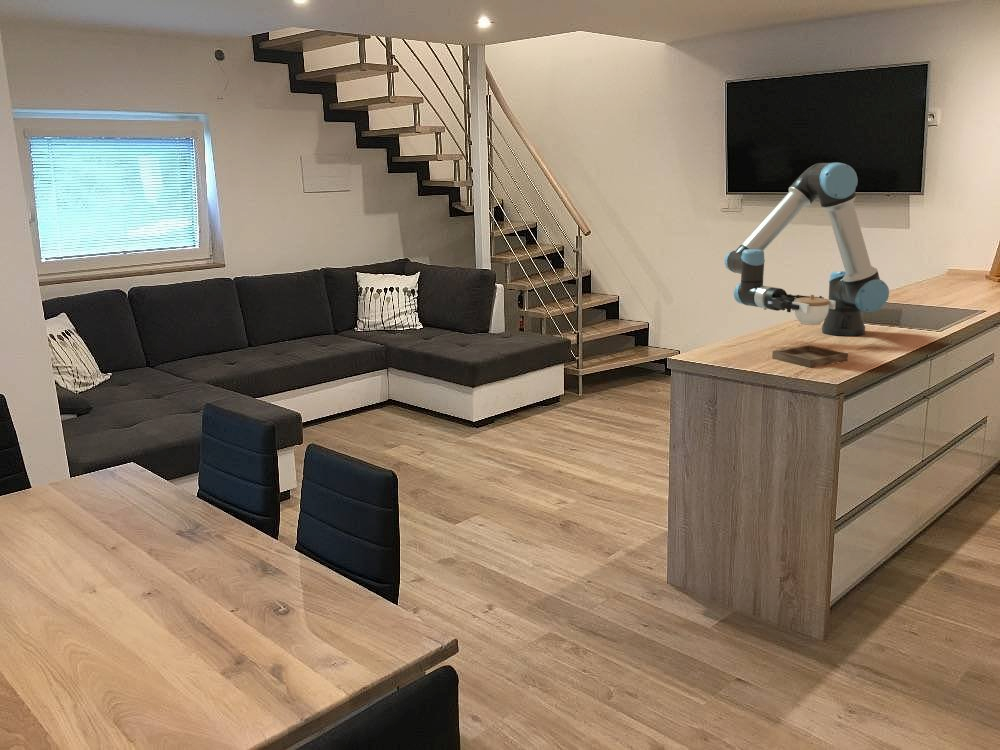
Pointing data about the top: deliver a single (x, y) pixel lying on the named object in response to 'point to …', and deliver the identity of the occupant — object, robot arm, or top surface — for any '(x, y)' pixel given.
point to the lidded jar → (813, 310)
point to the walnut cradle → (809, 356)
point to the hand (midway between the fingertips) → (821, 306)
